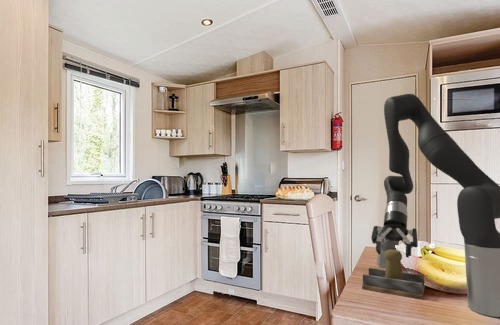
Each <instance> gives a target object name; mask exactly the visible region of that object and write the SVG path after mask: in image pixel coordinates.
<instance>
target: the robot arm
mask: <svg viewBox="0 0 500 325" xmlns="http://www.w3.org/2000/svg"><path fill="white" fill-rule="evenodd" d="M383 114H384V115H383V116H384V122H385V129H386V134H387V140H388V150H389V151H388V152H389V153H388V154H389V155H388V158H389V160H388V169H389V171H390V172H392V173H395V174H398V175H388V176H386V177H385V178H384V181H383V185H384V186H383V187H384V190H385V192H386V193H385V194H386V206H385V209H384V218H383V226H381V227H382V228H377V226H378V225H374V226H373V228H372V232H371V242H372V243H373V244H375V252H376V253H377V255H378V254H381V247H382V246H381V245H382V244H383V243H384V242H386V241H388V240H390V241H399V242H400V241H401V242H402V243H403V244H404V245H405V257H406V258H407V259H408V258H409V257H412V248H418V247H419V244H418V232H417V229H416V228H414V227H413V228H412V229H408V217H409V216H408V215H409V214H408V197H407V195H409V194H411V193H412V192H413V190H414V182H413V179H412V176H411V172H410V150H409V147H408V145H407V143H406V142H405V140H404V138H403V137H402V135H401V132H400V130H399V126H400V125H399V124H400V123H399V122H401V121H406V120H410V121H412V122H413V123H414V124H415V126H416V127H417V130H418V135H417V136H418V137H417V143H418V144H417V145H418V148H419V151H420V152H421V154H423V156H424V157H425V158H426V159H427V161H428V162H429V163H431V165H432V166H433V167H435V168H436V169H437V170H439V171H440V172H442V173H444V174H445V175H447V176H448V177H450V178H451V179H453V180H454V181H456V182H457V183H458V184H459V185H460V186H461V187H462V189H461V190H460V192H459V194H458V195H457V199H456V200H457V202H456V205H457V209H456V210H457V216H458V217H457V218H458V224H459V230H460V233H461V236H462V238H463V242H464V243H463V246H464V261H465V273H466V274H465V277H466V294H467V307H468V308H469V309H470V310H471V311H473V312H476V313H478V314H482V315H484V316H488V317H494V318H500V231H498V229H497V227H496V219H500V185H499V184H498V183H497V182H495V181H494V179H492V178H491V177H490V176H488V174H486V173H485V172H484V171H483V170H482V169H481V168H480V167H479V166H478V165H477V163H475V162H474V161H473V159H472V158H471V157H470V156H469V155H468V154H467V153H466V152H465V151H464V149H462V148H461V146H460V145H459V144H458V143H457V142H456V141H455V140H454V138H452V137H451V136H450V134H448V132H446V130H444V128H442V126H441V125H440V124H439V123H438V122H437V120H436V119H435V118H434V117H433V115H432V114H431V113H430V112H429V110H428V108H427V107H426V106H425V104H424V103H423V102H422V100H421V99H420V98H419V96H417V95H416V94H413V93H405V94H400V95H394V96H390V97H388V98H386V100H385V101H384V105H383ZM380 232H382V234H381V236H380V237H379V238H378V239H377V235H378V234H379V233H380ZM408 235H409V236H411V237H412V241H410V239H408V237H407V236H408Z"/></svg>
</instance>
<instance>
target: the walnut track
mask: <svg viewBox="0 0 500 325" xmlns="http://www.w3.org/2000/svg"><path fill="white" fill-rule="evenodd" d="M385 272H386V269H384V268H376V267H369V268H368V274H364V273H363V274H362V286H361V290H368V291H373V292H379V293H384V294H388V295H389V294H391V295H395V296H400V297H401V296H402V297H407V298H413V299H417V300H418V299H419V300H423V297H424V293H425V289H426V285H424V283H425V276H424V277H423V276H421V275H422V274H420V275H419V273H410V272H403V271H402V273H403V279H404V280H399V279H392V278H385Z"/></svg>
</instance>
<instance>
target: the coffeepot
mask: <svg viewBox="0 0 500 325" xmlns="http://www.w3.org/2000/svg"><path fill="white" fill-rule="evenodd" d="M376 226H377V228H382V227H383V226H380V225H379V226H378V225H376ZM381 234H382V232H380V233H379V234H378V235H377V239H378V238H379V237H380V236H381ZM399 242H400V241H390V240H388V241H386V242H384V243H383V244H382V245H381V246H382V247H381V254H378V253H377V261H376V265H377V267H378V266H379V268H380V267H382V268H381V269H384V268H386V261H387V260H386V258H385V251H386V250H396V248H395V245H398V246H400V245H399V244H400V243H399ZM400 263H401V261H400ZM401 264H402V263H401Z"/></svg>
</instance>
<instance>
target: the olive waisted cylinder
mask: <svg viewBox="0 0 500 325" xmlns="http://www.w3.org/2000/svg"><path fill="white" fill-rule="evenodd" d="M385 258H386V260H387V261H386V269H385V270H386V272H385V278H392V279H399V280H404V279H403V273H402V272H403V270H402V268H403V267H402V263H400V262H401V261H402V259H403V255H402V253H401V251H399V250H398V249H397V250H386V251H385Z"/></svg>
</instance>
